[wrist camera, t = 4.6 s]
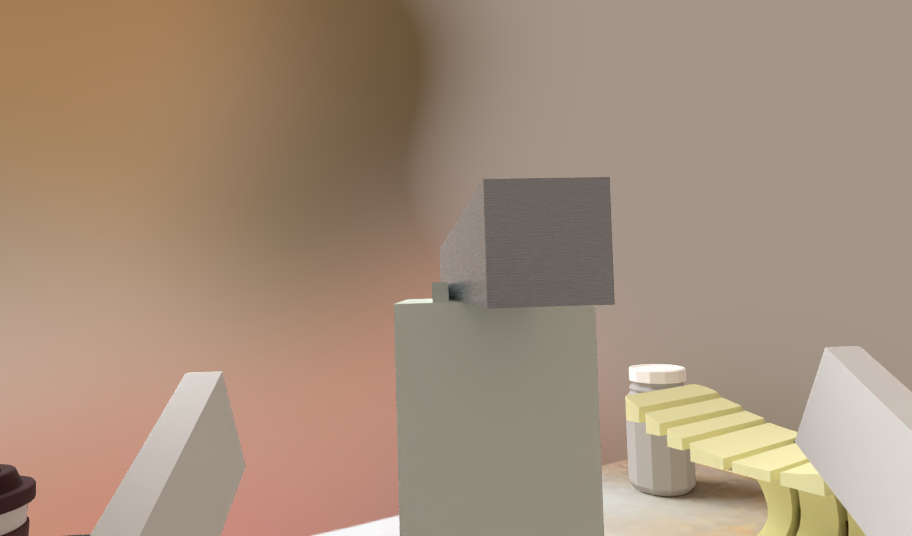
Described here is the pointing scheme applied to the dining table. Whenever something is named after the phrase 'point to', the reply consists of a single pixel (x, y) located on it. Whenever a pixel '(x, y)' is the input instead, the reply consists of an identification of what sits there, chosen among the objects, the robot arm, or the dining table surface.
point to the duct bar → (532, 244)
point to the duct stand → (497, 419)
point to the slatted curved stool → (746, 456)
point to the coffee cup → (15, 501)
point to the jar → (657, 440)
